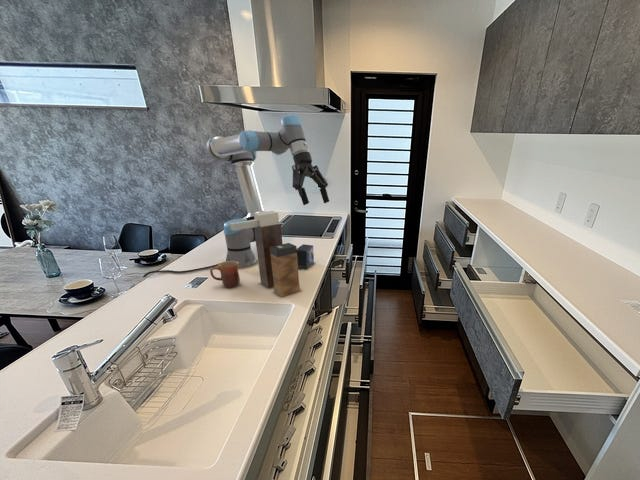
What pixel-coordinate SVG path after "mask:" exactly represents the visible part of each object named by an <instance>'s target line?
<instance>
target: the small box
mask: <svg viewBox="0 0 640 480" xmlns="http://www.w3.org/2000/svg"><path fill="white" fill-rule="evenodd" d="M296 248H297V261H298V270H308V269H309V268H311V266H313V265H314V264H315V253H314V252H315V251H314V245H312V244H304V243H303V244H302V245H299V247H296Z"/></svg>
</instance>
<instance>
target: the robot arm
mask: <svg viewBox="0 0 640 480" xmlns="http://www.w3.org/2000/svg"><path fill="white" fill-rule="evenodd" d="M280 121H281V122H280V123H281V127H282V128H281V129H280V130H279V131H277V132H273V131H257V130H242V131H240V133H239V134H234V135H229V136H227V135H226V136H225V135H224V136H223V135H218V136H213V137H211V138H209V139H208V141H207V142H206V150H207V153H208V154H209V155H210V156H211V157H212V158H213V159H215V160H217V161H220V162H230V165H231V167H232V168H233V169H235V171H236V175H237V180H238V183H239V187H240V190H241V194H242V197H243V201H244V204H245V207H246V208H245V209H246V212H247V215H246V217H245V218H233V219H230V220H228V221H226V222H224V224H223V234H224V238H225V244H226V250H227V251H226V257H225V261H224V262H226V261H237V262H238V263H239V266H238V269H245V268H249V267H252V266H254V265H256V263H257V258H256V254H255V253H254V252H253V250H252V246H251V243H256V240H255V232H254V227H253V228H247V229H240V230H234V231H233V230H231V229H230V223H234V222H241V221H248V220H255V218H254V213H259V212H266V211H265V209H264V204H263V202H262V197H261V193H260V189H259V185H258V183H257V179H256V175H255V171H254V167H253V166H254V165H255V160H256V159H257V152H272V154H275V155H277V156H281V155H283V154H285V153H286V152H287V151H289V150H290V154H291V156H292V160H293V163H294V165H292V166H291V169H292V184H291V185H292V188H293V189H294V190H295V191H297V192H298V195H299V197H300V198H301V202H302V205H303V206H307V205H308V204H310V201H309V197H308V194H307V192H306V188H305V187H303V186H304V182H305V179H306V177H307V178H309V179H312V180H313V182H314V183H315V184H316V185H317V186H318V187H319V192H320V196H321V198H322V201H323V204H327V203H330V198H329V196H328V195H329V194H328V191H327V187H328V186H329V184H328V182H327V180H326V179H325V177H324V176H323V174H322V173H321V171H320V169H319V166H318V165H317V164H315V165H314V166H313V164H312V162H313V158H312V155H311V152H310V149H309V146H308V143H307V140H306V137H305V133H304V129H303V127H302V126H303V125H302V124H301V121H300V118H299V117H298V116H297V115H295V114H288V115H285V116H284V117H282V118H281V120H280ZM218 264H219V263H216V264H213V265H209V266H203V267H198V268H193V269H188V270H171V269H164V270H152V271H148V272H146V273H145V274H144V275H143V276H142V278H146V277H147V276H149V275H150V274H157V273H173V274H184V273H185V274H186V273H190V272H197V271H202V270H208V269H211V268H213V267H218V266H217V265H218Z"/></svg>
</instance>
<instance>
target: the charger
mask: <svg viewBox="0 0 640 480" xmlns="http://www.w3.org/2000/svg"><path fill="white" fill-rule="evenodd" d="M254 218H255V220H248V221H241V222H234V223H230V229H231V230H233V231H234V230H240V229H247V228H253V227H259V226H260V227H264V226H270V225H276V224H280V220H279V218H280V217H279V212H278V211H274V210H269V211H268V210H267V211H265V212H259V213H254Z"/></svg>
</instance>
